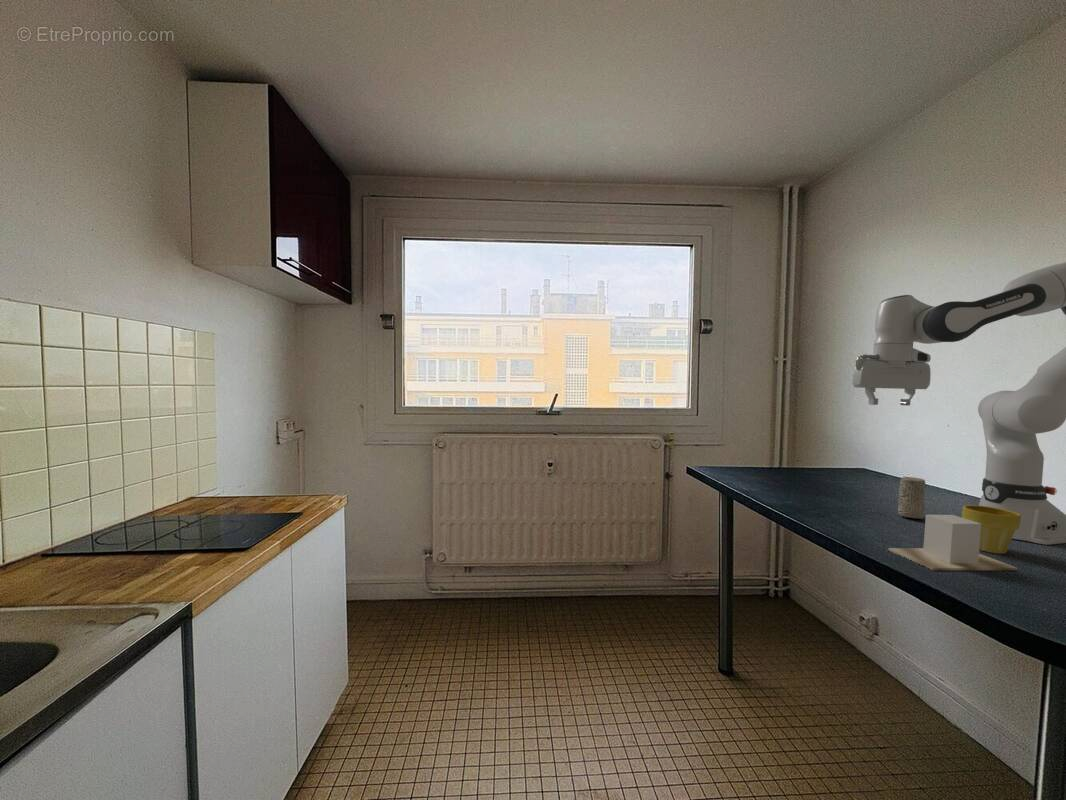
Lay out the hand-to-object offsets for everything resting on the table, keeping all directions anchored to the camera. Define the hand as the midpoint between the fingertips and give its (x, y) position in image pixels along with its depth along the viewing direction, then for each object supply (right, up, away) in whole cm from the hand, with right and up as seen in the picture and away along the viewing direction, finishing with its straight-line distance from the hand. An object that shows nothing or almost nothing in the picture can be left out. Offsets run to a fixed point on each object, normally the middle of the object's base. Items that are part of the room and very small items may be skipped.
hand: (889, 405), depth 135 cm
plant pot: (+13, -36, -15) cm, 41 cm away
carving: (+14, -34, +11) cm, 39 cm away
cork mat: (-3, -35, -23) cm, 42 cm away
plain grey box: (-3, -35, -23) cm, 42 cm away
